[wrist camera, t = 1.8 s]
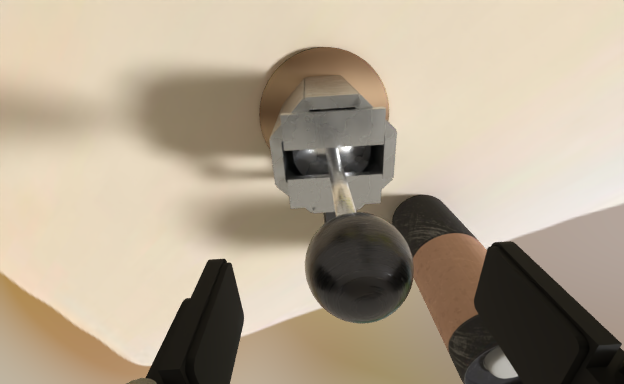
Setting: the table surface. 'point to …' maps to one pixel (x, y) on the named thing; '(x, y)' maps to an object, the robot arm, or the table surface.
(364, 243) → the plunger
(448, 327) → the travel mug
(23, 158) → the table surface
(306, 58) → the disc
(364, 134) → the grey slotted housing
